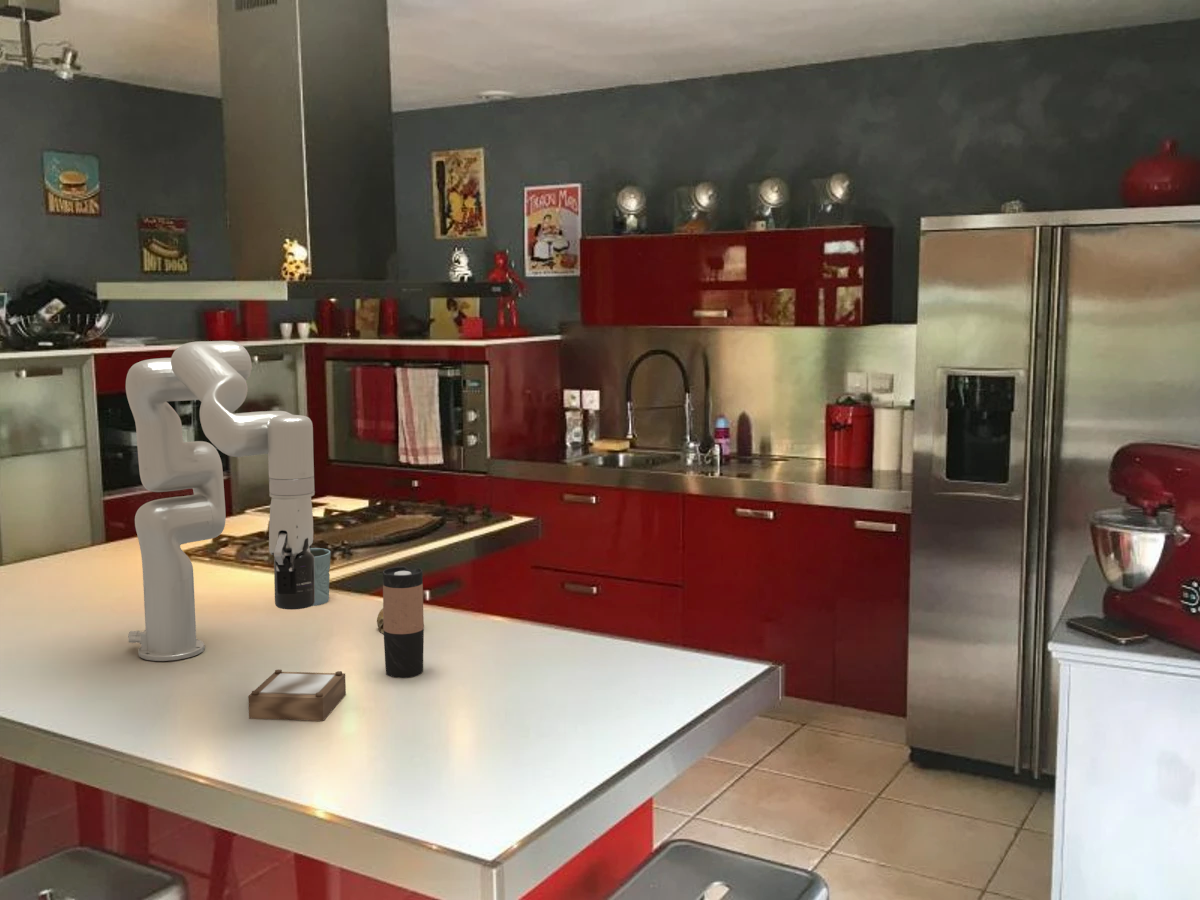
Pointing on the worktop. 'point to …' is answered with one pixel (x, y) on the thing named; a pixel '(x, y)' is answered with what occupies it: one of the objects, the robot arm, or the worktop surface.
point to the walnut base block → (297, 696)
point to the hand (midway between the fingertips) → (294, 587)
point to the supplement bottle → (299, 582)
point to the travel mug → (403, 621)
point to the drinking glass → (321, 575)
